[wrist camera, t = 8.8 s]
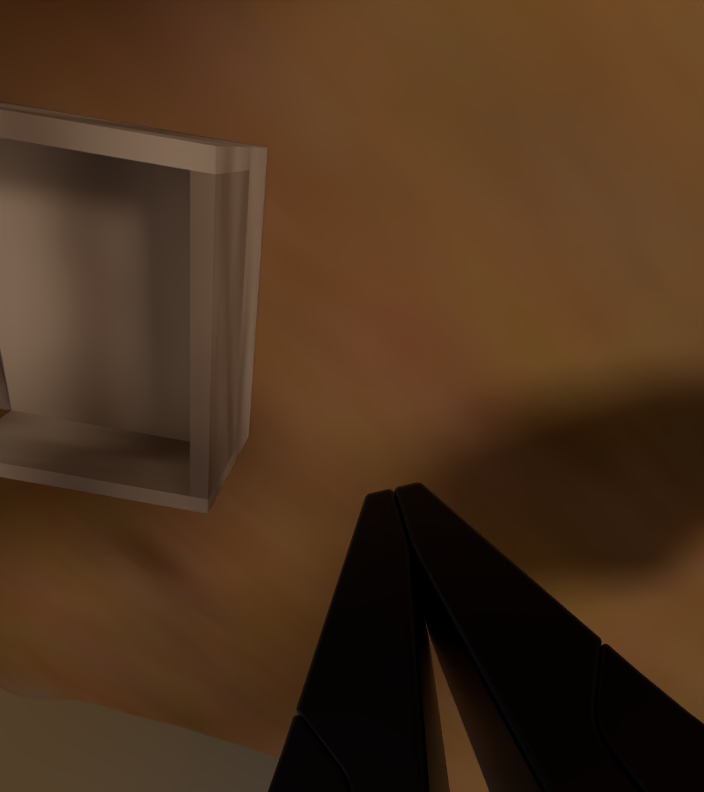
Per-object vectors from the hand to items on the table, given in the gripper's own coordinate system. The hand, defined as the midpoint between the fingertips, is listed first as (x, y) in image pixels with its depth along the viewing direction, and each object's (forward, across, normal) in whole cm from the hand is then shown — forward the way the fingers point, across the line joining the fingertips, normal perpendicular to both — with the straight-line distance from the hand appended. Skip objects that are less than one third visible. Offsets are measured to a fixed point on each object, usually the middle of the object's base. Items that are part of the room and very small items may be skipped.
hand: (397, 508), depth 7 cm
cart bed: (+13, +8, -1) cm, 15 cm away
